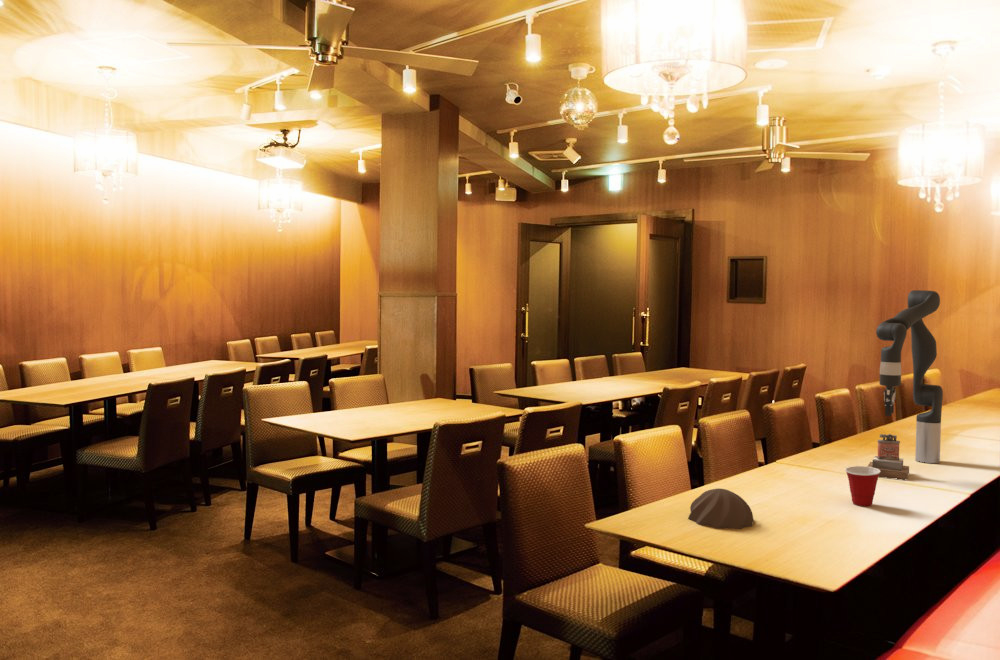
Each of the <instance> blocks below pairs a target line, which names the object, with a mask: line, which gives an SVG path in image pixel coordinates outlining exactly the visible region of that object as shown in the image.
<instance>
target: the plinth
mask: <svg viewBox="0 0 1000 660" xmlns="http://www.w3.org/2000/svg"><path fill="white" fill-rule="evenodd" d="M877 456H878V455H875V456H874V457H873V459H872V461H870V462H869V463H868V465H867V466H866V467H873V468H877V469H879V470H880V473H879V477H878V478H882V477H887V478H886V479H891V478H897V479H896V480H899V479H907V480H908V478H909V475H910V465H904V458H899V460H880V459H877ZM908 474H909V475H908ZM907 477H908V478H907Z"/></svg>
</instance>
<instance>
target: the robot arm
mask: <svg viewBox="0 0 1000 660" xmlns="http://www.w3.org/2000/svg"><path fill="white" fill-rule="evenodd" d="M940 304H941V296H940V294H939V292H937V291H935V290H924V289H923V290H919V289H917V290H916V289H915V290H910V291H909V293H908V296H907V308H905V309H902V310H900V312H898V313H897V314H896V315H895V316H893V317H892V318H888V319H886V320H884V321H882V322H881V323H880V324H878V325H877V328H876V331H875V335H876V337H877V338H878V340H881V341H883V342H884V341H886V342H888V341H890V342H893V343H892V344H891V345H890V346H885V347H884V346H883V347H882V348H881V349H880V364H879V382H878V383H879V385H880V386H884V387H885V389H884V390H883V395H884V396H883V400H884V402H883V404H884V407H885V408H884V409H885V410H884V415H885V416H886V417H891V416H892V414H894V410H895V408H894V407H895V405H894V404H895V401H896V394H897V390H896V387H900V386H901V385H902V363H901V361H902V350H903V347H904V343H905V341H906V337H907V332H908V330H909V329H910V334H911V335H910V336H911V337H910V338H911V341H910V342H911V358H912V371H913V376H912V377H913V379H912V398H913V403H914V404H915V405H916V406H925V407H931V409H930V410H929V411H926V412H921V413H918V414H916V417H915V419H916V421H915V422H916V425H915V458H914V459H915V461H917V462H919V461H920V463H924V462H925V464H940V462H941V442H942V441H941V440H942V439H941V436H942V435H941V434H942V433H941V432H942V410H943V398H944V397H943V396H944V391H943V388H942V386H941V385H939V384H926V383H924V384H923V381H924V377H925V375H926V373H927V371H928V370H929V369H930V368H931V366H932V365H933V364H934V362H935V361H936V359H937V355H938V353H937V352H938V351H937V341H936V338H935V337H934V335H933V333H932V332H931V331H930V330H929V328H928V327H927V326H926V324H925V323H924V321H923V319H924V318H926V317H928V316H930V315H931V314H933V313H935V312H937V311H938V309H939V307H940Z"/></svg>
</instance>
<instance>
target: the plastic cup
mask: <svg viewBox="0 0 1000 660" xmlns="http://www.w3.org/2000/svg"><path fill="white" fill-rule="evenodd" d="M844 471H845V472H846V475H847V479H848V486H849V490H850V496H851V502H852V504H853V505H855V506H859V507H872V506H873V505H872V504H873V501H874V496H875V492H876V488H877V485H878V484H877V483H878V480H879V477H878V476H879V473H880V470H879V469H877V468H873V467H867V466H863V465H861V466H859V465H855V466H853V465H852V466H848V467H846V468H844Z"/></svg>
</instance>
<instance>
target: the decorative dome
mask: <svg viewBox="0 0 1000 660" xmlns="http://www.w3.org/2000/svg"><path fill="white" fill-rule="evenodd" d="M689 510H690V514H688V515H689V516H688V519H687V520H689V521H693V522H694V523H696V524H697V525H698V526H705V527H710V528H714V529H717V530H718V529H720V530H723V529H730V530H741V529H743V528H751V527H753V525H754V522H755V520H754V514H753V511H752V509H751V507H750V506H749V504H748V503H747V501H745V499H743V498H742V497H741V496H740V495H739V494H737V493H735V492H734V491H730V490H729V489H725V488H719V487H718V488H713V489H709V490H706V491H705V490H704V492H702V493H701V494H700V495H699V496H698V497H696V498H695V499H694V500H692V502H691V504H690V507H689Z"/></svg>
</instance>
